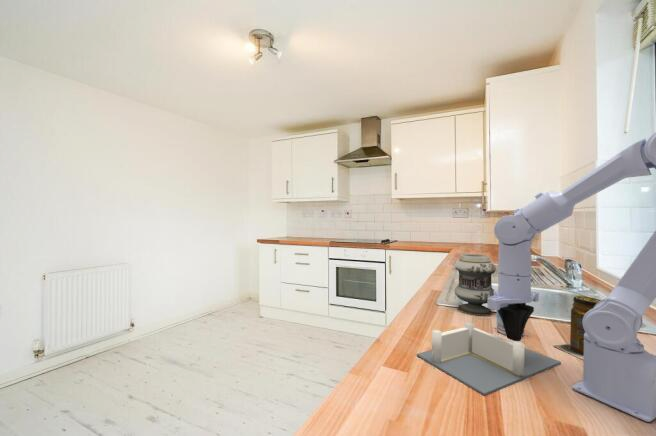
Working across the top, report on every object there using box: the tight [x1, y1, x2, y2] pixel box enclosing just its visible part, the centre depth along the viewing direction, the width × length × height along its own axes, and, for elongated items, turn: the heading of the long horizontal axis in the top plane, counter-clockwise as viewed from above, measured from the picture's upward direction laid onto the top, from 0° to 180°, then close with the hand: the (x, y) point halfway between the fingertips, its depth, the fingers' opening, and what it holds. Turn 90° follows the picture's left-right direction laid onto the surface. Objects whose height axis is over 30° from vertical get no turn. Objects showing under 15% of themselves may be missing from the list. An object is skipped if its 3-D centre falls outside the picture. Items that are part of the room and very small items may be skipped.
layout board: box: [416, 347, 562, 396], centre depth 61 cm, size 16×24×1 cm, turn 117°
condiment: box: [552, 295, 602, 361], centre depth 65 cm, size 7×8×12 cm
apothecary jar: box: [454, 253, 497, 316], centre depth 94 cm, size 12×12×18 cm
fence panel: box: [472, 327, 526, 375], centre depth 58 cm, size 10×2×6 cm, turn 26°
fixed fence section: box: [431, 321, 475, 363], centre depth 62 cm, size 12×2×6 cm, turn 117°
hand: (513, 339), depth 60 cm, fingers closed
